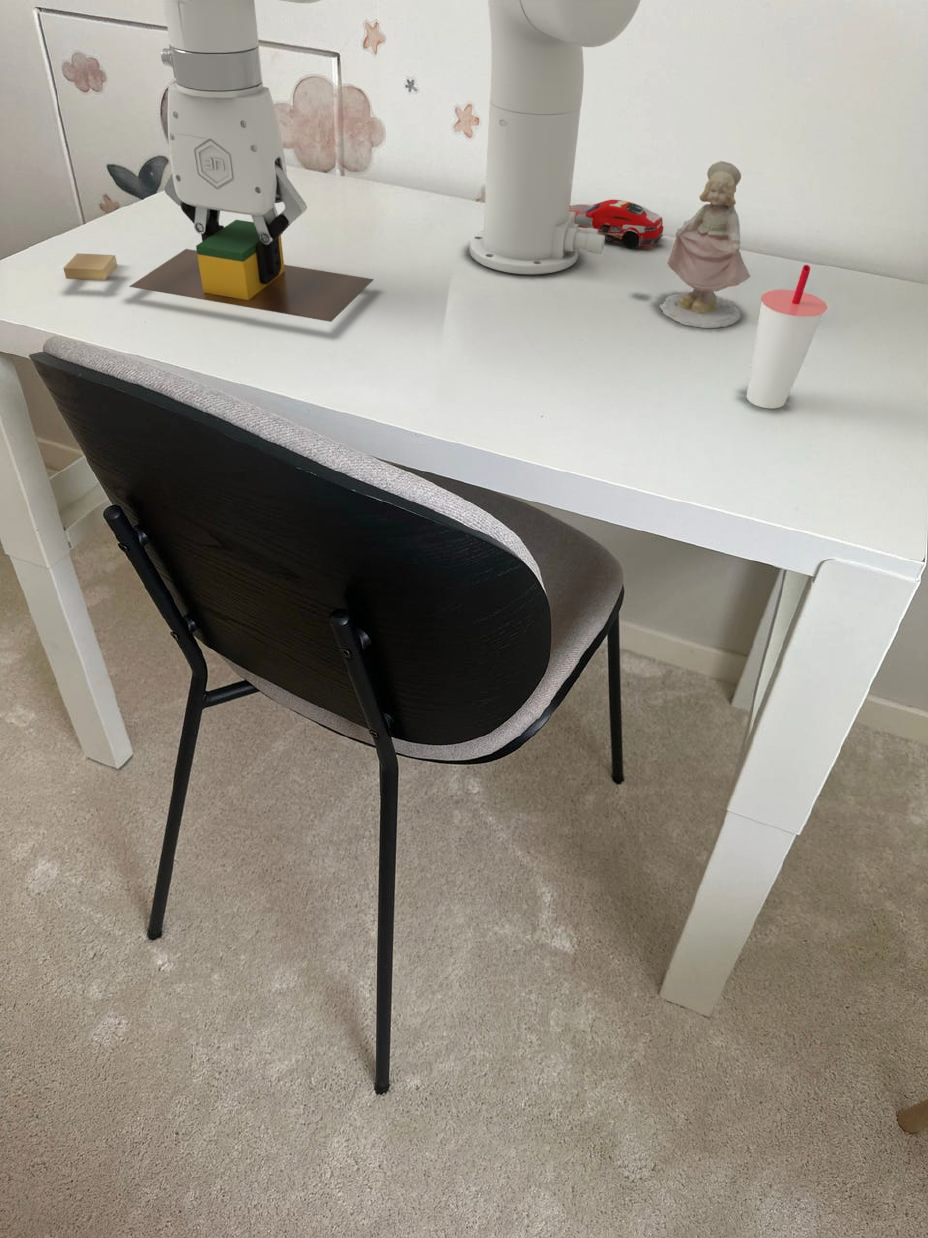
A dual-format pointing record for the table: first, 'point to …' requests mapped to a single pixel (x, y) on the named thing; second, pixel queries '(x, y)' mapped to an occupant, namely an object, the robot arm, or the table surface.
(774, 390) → the cup
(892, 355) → the table surface
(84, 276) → the wooden block
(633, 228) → the race car
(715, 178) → the figurine
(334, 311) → the board
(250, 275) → the sponge
